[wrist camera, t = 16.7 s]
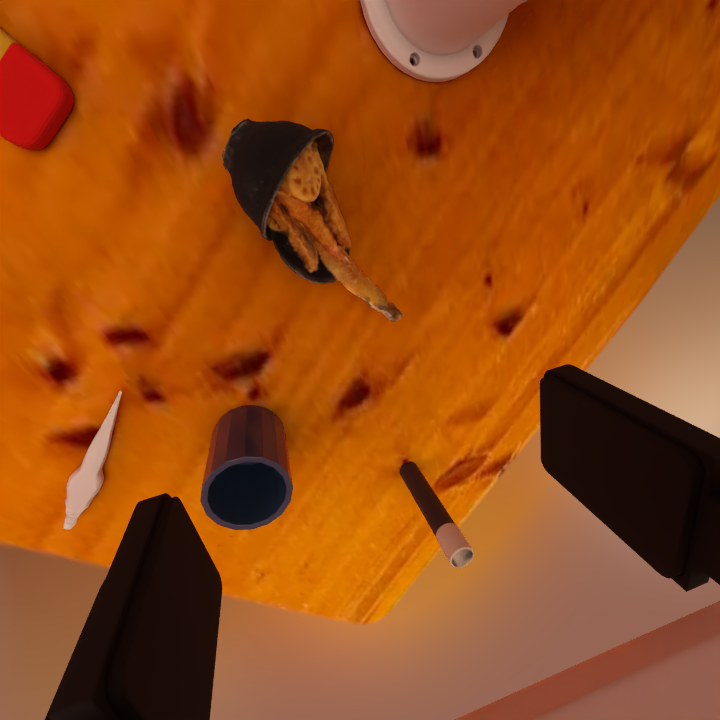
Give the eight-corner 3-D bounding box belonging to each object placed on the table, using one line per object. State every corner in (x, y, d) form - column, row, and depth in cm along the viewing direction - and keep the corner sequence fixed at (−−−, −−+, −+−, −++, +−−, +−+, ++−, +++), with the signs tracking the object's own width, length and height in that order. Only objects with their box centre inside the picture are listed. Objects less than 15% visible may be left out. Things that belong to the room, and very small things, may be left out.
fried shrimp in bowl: (269, 48, 25) (489, 214, 26) (271, 162, 35) (427, 275, 37) (176, 142, 22) (423, 318, 24) (208, 233, 33) (378, 352, 34)
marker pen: (416, 459, 45) (473, 544, 33) (418, 474, 46) (474, 562, 34) (398, 464, 45) (449, 552, 33) (400, 480, 46) (451, 571, 34)
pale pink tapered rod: (88, 521, 38) (80, 536, 36) (57, 516, 37) (47, 530, 35) (140, 391, 35) (134, 400, 33) (108, 381, 34) (100, 390, 32)
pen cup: (274, 397, 38) (280, 446, 30) (291, 454, 41) (300, 513, 33) (202, 416, 37) (188, 473, 29) (225, 474, 40) (217, 540, 31)
